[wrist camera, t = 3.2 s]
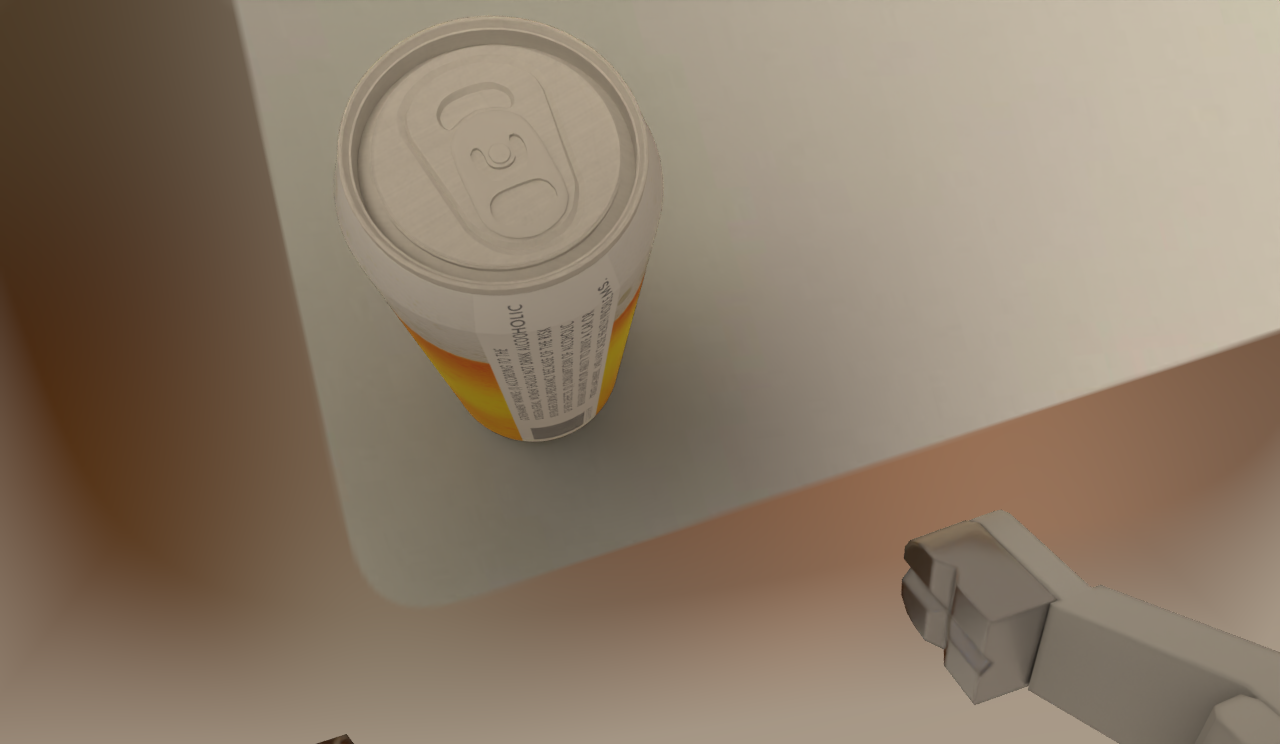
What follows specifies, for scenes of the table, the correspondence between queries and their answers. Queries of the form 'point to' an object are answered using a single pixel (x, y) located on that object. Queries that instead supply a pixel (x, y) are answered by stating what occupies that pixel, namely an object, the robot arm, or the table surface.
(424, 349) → the orange beverage can
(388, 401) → the table surface
